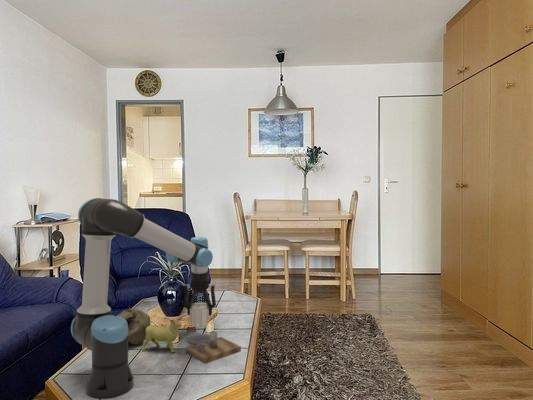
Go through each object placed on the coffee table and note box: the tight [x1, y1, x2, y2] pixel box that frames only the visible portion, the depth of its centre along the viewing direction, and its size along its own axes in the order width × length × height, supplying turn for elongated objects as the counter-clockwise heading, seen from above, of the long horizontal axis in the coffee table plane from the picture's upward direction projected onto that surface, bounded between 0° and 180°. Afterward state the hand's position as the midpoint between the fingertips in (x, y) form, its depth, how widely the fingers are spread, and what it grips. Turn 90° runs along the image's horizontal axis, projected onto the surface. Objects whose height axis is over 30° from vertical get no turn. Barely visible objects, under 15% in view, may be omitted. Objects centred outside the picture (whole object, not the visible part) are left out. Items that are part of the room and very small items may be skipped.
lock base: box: [185, 331, 242, 364], centre depth 173 cm, size 18×14×8 cm
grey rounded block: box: [191, 302, 209, 329], centre depth 185 cm, size 8×7×9 cm
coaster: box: [186, 333, 210, 345], centre depth 186 cm, size 11×11×1 cm
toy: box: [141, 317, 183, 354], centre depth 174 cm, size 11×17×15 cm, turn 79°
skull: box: [116, 307, 151, 346], centre depth 181 cm, size 16×22×15 cm
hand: (199, 322), depth 186 cm, fingers closed on grey rounded block, 7 cm apart
